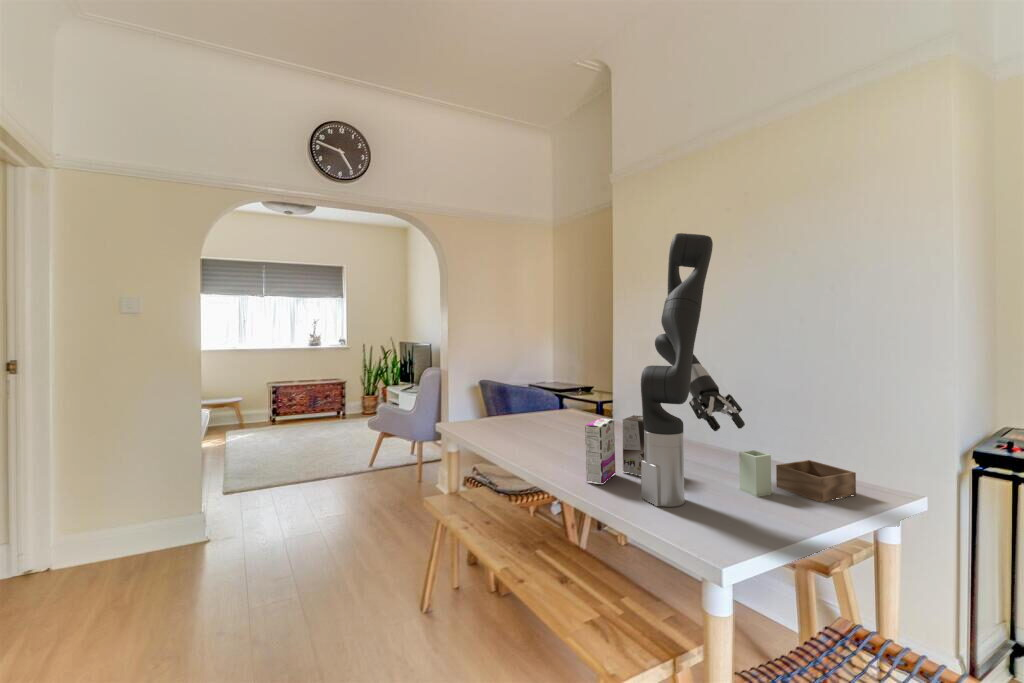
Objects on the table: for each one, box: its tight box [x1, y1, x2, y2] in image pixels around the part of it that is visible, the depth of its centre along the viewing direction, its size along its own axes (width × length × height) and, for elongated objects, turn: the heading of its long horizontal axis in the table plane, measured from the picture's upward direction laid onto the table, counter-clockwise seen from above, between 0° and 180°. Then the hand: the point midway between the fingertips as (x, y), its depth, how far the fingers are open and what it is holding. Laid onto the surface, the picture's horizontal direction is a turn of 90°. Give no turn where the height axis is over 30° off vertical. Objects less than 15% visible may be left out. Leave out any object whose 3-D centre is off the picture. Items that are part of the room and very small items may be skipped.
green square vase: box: [739, 450, 772, 498], centre depth 113 cm, size 5×5×10 cm
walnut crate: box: [775, 459, 857, 503], centre depth 113 cm, size 12×12×6 cm
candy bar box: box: [584, 417, 616, 483], centre depth 125 cm, size 11×5×16 cm, turn 148°
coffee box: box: [622, 414, 644, 476], centre depth 132 cm, size 9×6×16 cm
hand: (730, 428), depth 120 cm, fingers open, 8 cm apart
